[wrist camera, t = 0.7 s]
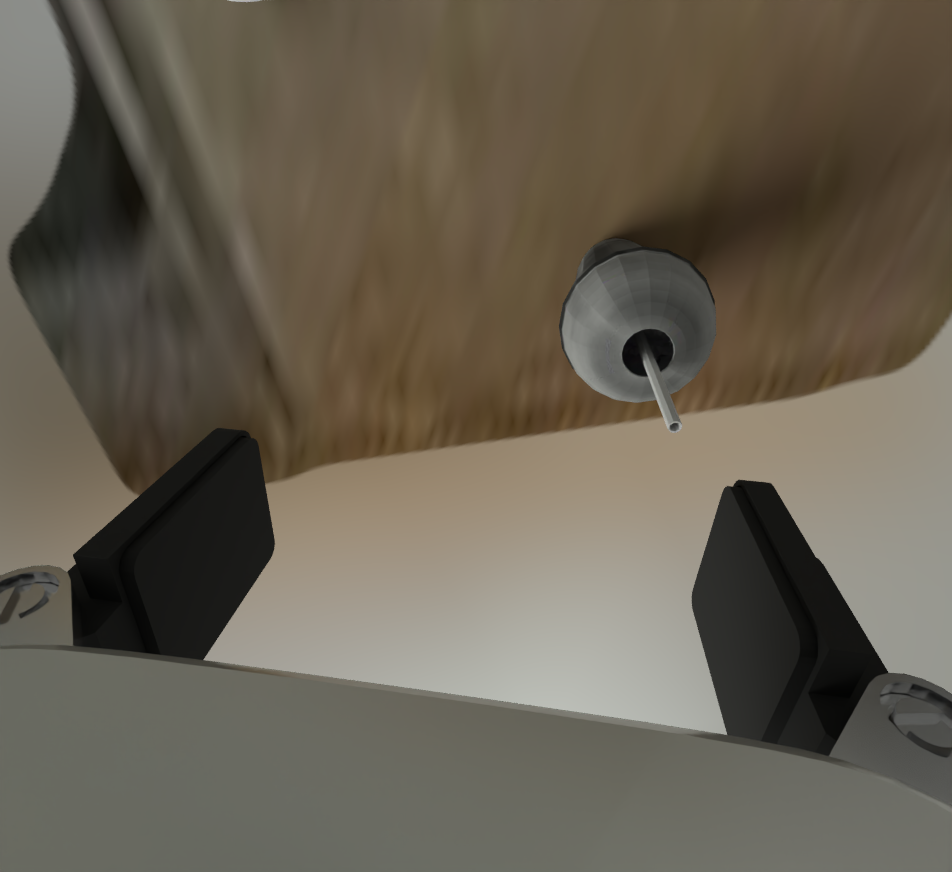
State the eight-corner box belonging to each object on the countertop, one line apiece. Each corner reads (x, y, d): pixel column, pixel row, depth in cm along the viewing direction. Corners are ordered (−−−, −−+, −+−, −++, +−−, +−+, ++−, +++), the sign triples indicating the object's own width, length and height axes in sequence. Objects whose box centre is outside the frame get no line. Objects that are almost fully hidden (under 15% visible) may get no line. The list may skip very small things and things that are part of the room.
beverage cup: (656, 196, 35) (763, 260, 17) (681, 307, 38) (794, 458, 20) (542, 239, 37) (534, 334, 19) (574, 341, 40) (593, 505, 22)
